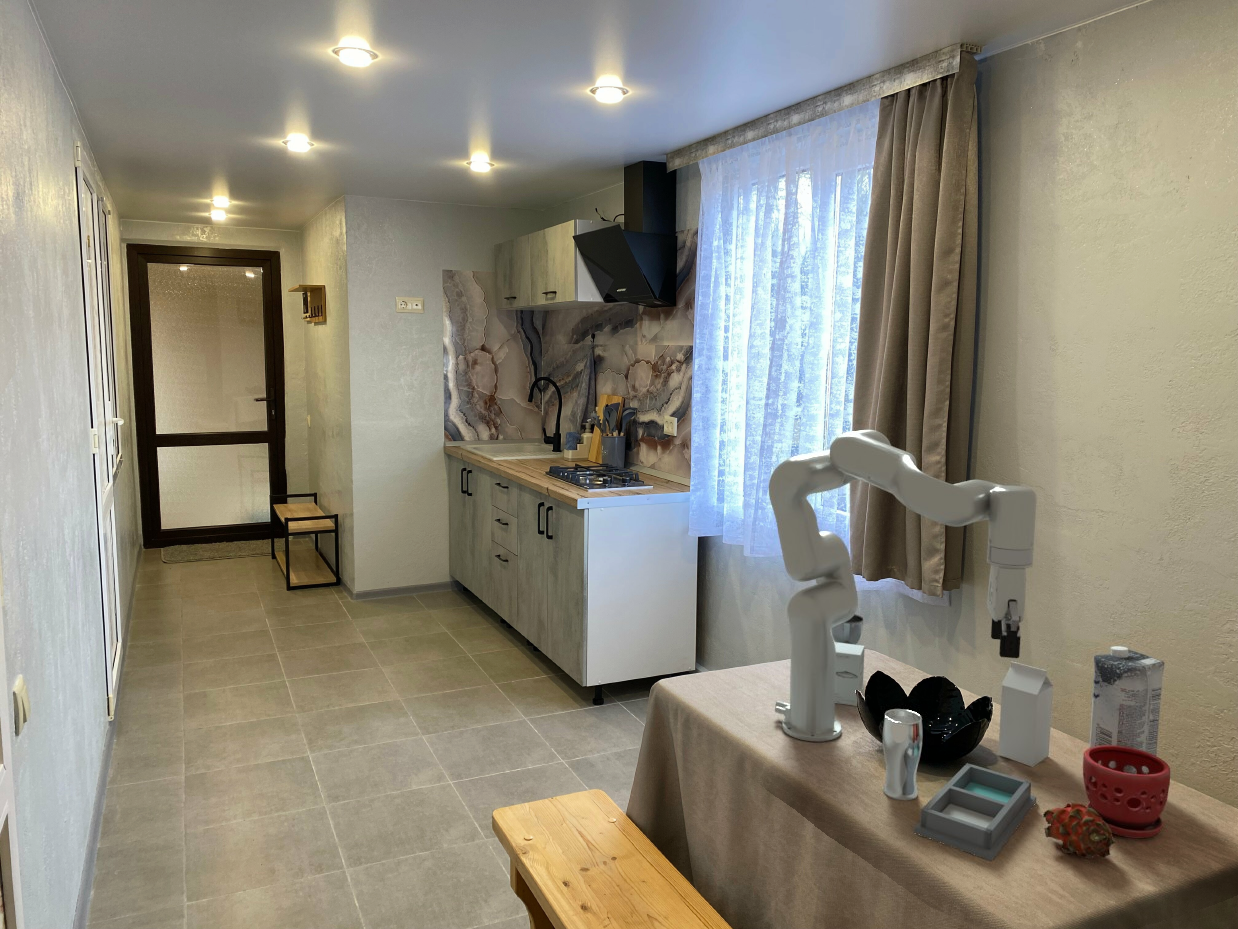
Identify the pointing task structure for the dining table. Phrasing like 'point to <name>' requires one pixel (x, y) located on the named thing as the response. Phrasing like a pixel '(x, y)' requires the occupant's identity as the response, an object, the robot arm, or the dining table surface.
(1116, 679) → the juice carton
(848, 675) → the supplement box
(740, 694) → the dining table surface
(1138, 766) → the plant pot
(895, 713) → the silver metal cup
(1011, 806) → the gray divided sorting tray
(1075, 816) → the dragon fruit
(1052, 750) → the dining table surface
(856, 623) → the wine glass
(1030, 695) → the milk carton
